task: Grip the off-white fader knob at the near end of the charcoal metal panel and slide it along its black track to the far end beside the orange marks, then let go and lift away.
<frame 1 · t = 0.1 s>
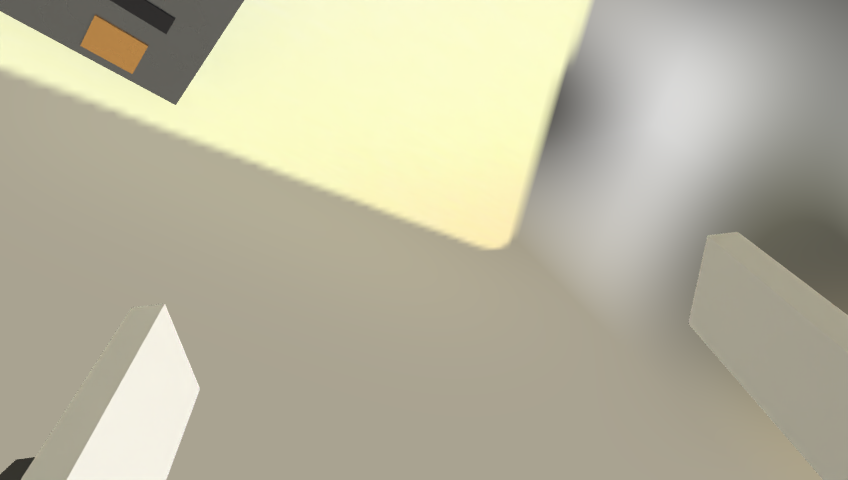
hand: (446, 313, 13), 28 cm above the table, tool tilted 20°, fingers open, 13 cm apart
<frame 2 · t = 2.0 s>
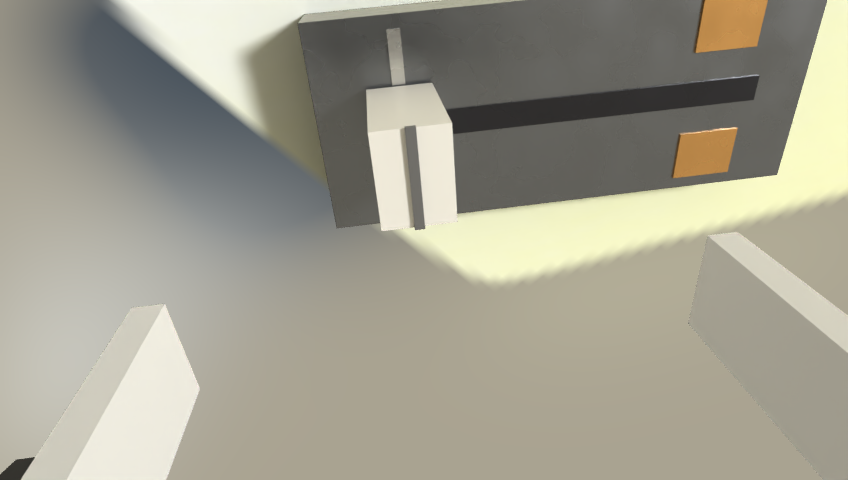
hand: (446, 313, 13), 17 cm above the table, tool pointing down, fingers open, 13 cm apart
fader panel: (548, 92, 28), on the table
fader: (408, 151, 22), point 6 cm above the table, slide at 0.0 cm
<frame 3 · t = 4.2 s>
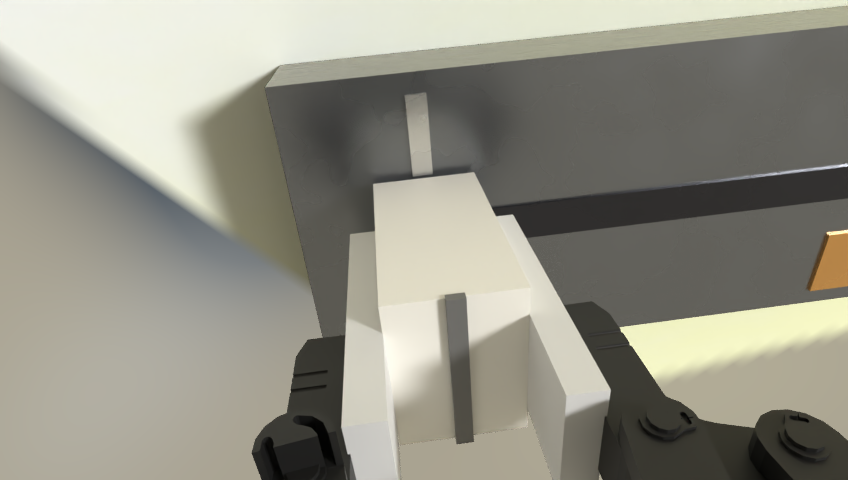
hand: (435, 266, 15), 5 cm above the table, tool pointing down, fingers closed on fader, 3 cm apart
fader panel: (629, 168, 19), on the table
fader: (441, 293, 14), point 6 cm above the table, slide at 0.0 cm, touching gripper
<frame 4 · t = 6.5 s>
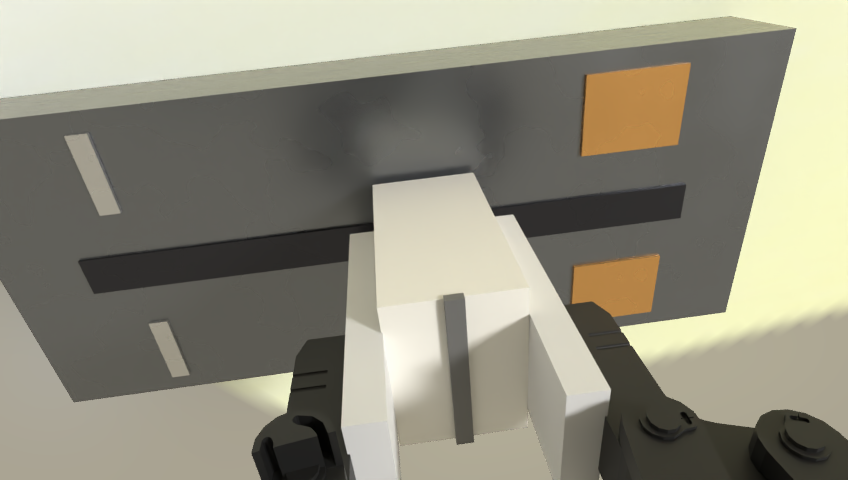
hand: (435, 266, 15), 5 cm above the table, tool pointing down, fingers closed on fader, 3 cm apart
fader panel: (388, 198, 19), on the table
fader: (441, 294, 14), point 6 cm above the table, slide at 9.2 cm, touching gripper
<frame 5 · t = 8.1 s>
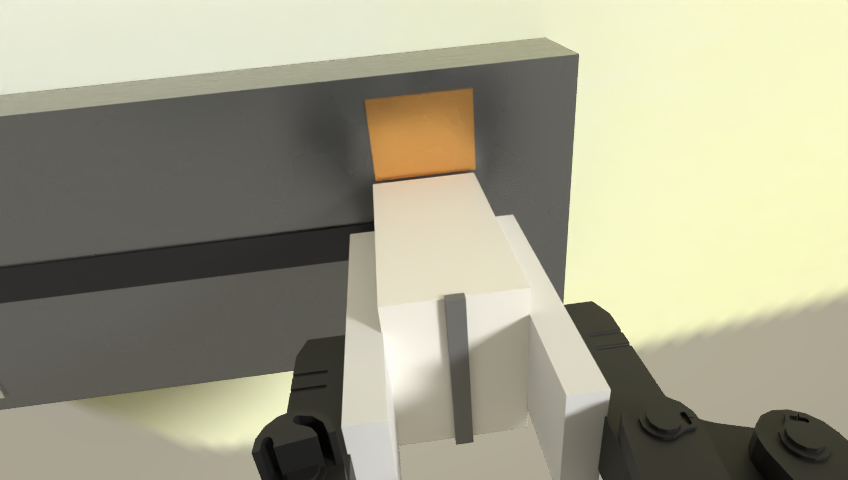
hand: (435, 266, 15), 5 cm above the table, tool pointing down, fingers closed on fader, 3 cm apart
fader panel: (216, 217, 19), on the table
fader: (441, 293, 14), point 6 cm above the table, slide at 15.4 cm, touching gripper
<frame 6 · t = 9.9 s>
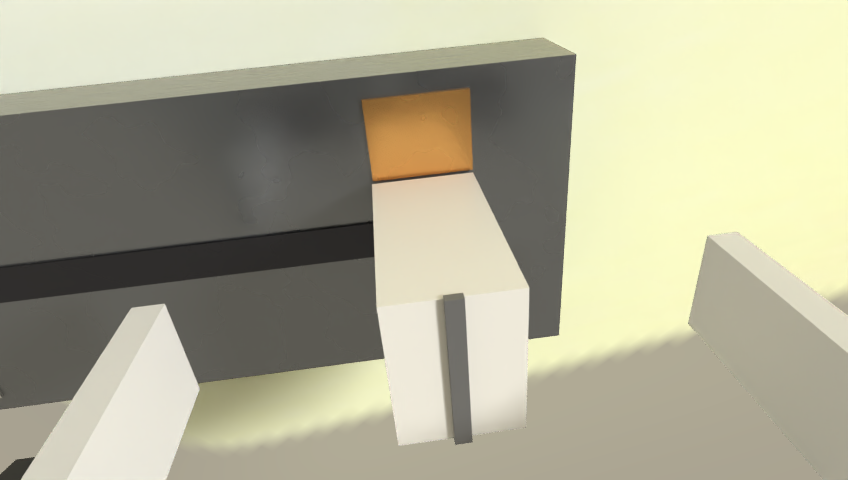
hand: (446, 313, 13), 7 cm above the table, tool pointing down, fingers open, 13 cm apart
fader panel: (213, 217, 19), on the table
fader: (440, 293, 14), point 6 cm above the table, slide at 15.5 cm
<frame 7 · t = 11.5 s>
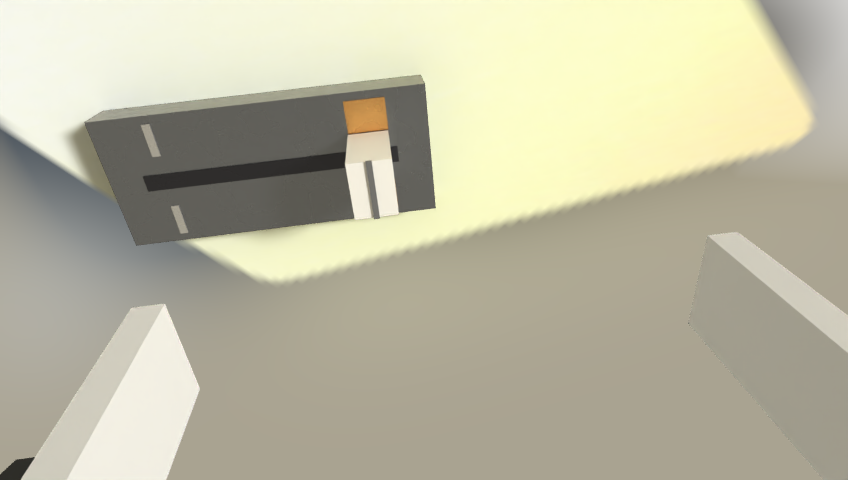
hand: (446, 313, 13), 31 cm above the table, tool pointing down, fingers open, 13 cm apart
fader panel: (279, 154, 42), on the table
fader: (372, 173, 37), point 6 cm above the table, slide at 15.5 cm
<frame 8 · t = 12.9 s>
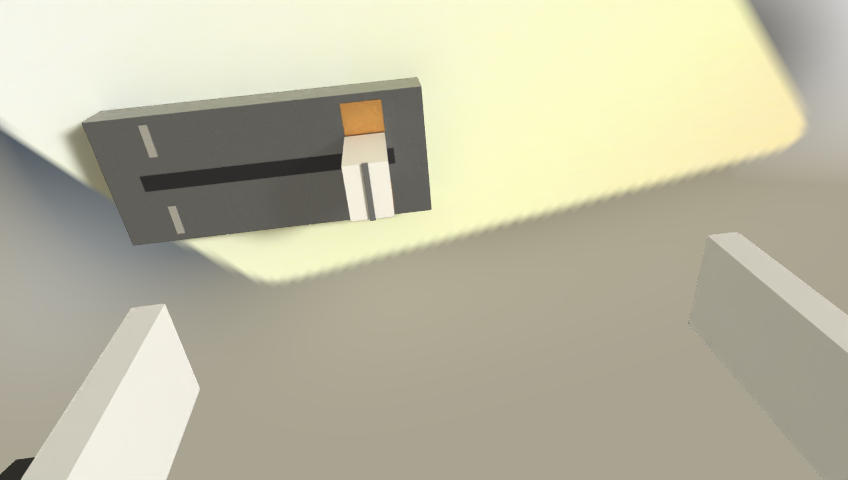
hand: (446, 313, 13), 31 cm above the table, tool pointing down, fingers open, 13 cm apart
fader panel: (275, 155, 42), on the table
fader: (368, 175, 37), point 6 cm above the table, slide at 15.5 cm
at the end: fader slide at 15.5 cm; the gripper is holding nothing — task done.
